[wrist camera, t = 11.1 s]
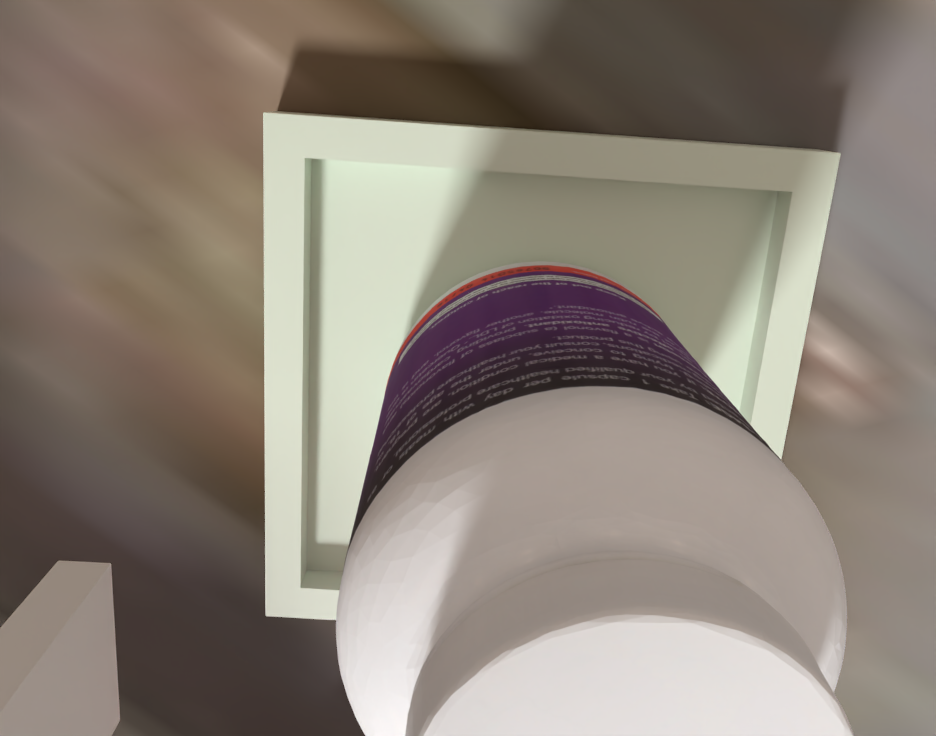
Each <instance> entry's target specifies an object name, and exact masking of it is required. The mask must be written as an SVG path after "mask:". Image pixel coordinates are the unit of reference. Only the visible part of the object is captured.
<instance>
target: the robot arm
mask: <svg viewBox="0 0 936 736" xmlns="http://www.w3.org/2000/svg"><path fill="white" fill-rule="evenodd" d="M119 721H120V708H119V690H118V673H117V656H116V638H115V621H114V604H113V587H112V569H111V563H98V562H78V561H57V563H56V564H55V565H54V566H53V567H52V568H51V570H50V571H49V572H48V573H47V574H46V575H45V577H44V578H43V579H42V580H41V581H40V582H39V584H38V585H37V586H36V587H35V588H34V589H33V590H32V592H31V593H30V594H29V595H28V596H27V597H26V599H25V600H24V601H23V602H22V603H21V604H20V606H19V607H18V608H17V609H16V610H15V611H14V612H13V614H12V615H11V616H10V617H9V618H8V619H7V621H6V622H5V623H4V624H3V625H2V626H1V628H0V736H112V734H113V733H114V731H115V729H116V727H117V725H118V723H119Z"/></svg>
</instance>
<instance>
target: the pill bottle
mask: <svg viewBox="0 0 936 736" xmlns="http://www.w3.org/2000/svg"><path fill="white" fill-rule="evenodd" d="M846 632H847V601H846V592H845V585H844V577H843V573H842V569H841V565H840V561H839V557H838V553H837V550H836V548H835V545H834V542H833V539H832V537H831V535H830V532H829V530H828V528H827V526H826V524H825V522H824V520H823V518H822V516H821V514H820V513H819V511H818V509H817V507H816V505H815V504H814V502H813V501H812V499H811V498H810V496H809V495H808V494H807V492H806V491H805V489H804V488H803V486H802V485H801V483H800V482H799V481H798V480H797V479H796V478H795V476H794V475H793V474H792V473H791V472H790V471H789V470H788V469H787V467H786V466H785V465H784V463H783V462H782V461H781V459H780V458H779V457H778V456H777V455H776V454H775V453H774V451H773V450H772V449H771V448H770V447H769V445H768V444H767V443H766V442H765V441H764V440H763V439H762V438H761V437H760V436H759V434H758V433H757V432H756V431H755V430H754V429H753V427H752V426H751V425H750V424H749V423H748V422H747V420H746V419H745V418H744V417H743V416H742V415H741V414H740V412H739V411H738V410H737V408H736V407H735V406H734V405H733V404H732V403H731V402H730V400H729V399H728V398H727V397H726V396H725V395H724V394H723V393H722V391H721V390H720V389H719V387H718V386H717V385H716V384H715V383H714V382H713V381H712V379H711V378H710V377H709V376H708V375H707V374H706V373H705V372H704V370H703V369H702V368H701V366H700V365H699V364H698V363H697V361H696V360H695V359H694V358H693V357H692V356H691V354H690V353H689V352H688V351H687V350H686V349H685V347H684V346H683V345H682V344H681V343H680V341H679V340H678V339H677V338H676V336H675V335H674V334H673V332H672V331H671V330H670V329H669V327H668V326H667V325H666V324H665V322H664V321H663V320H662V319H661V318H660V316H659V315H658V314H657V313H656V312H655V311H654V310H653V309H652V308H651V307H650V306H649V305H648V304H647V303H646V302H645V301H644V300H643V299H641V298H640V297H639V296H638V295H637V294H636V293H634V292H633V291H631V290H630V289H628V288H627V287H626V286H624V285H623V284H621V283H619V282H617V281H616V280H614V279H612V278H610V277H608V276H606V275H603V274H601V273H599V272H596V271H593V270H591V269H588V268H585V267H581V266H576V265H572V264H566V263H560V262H545V261H535V262H521V263H514V264H509V265H505V266H500V267H496V268H493V269H490V270H487V271H485V272H482V273H479V274H477V275H475V276H473V277H470V278H468V279H466V280H465V281H463V282H461V283H459V284H458V285H456V286H454V287H453V288H451V289H450V290H448V291H447V292H446V293H445V294H443V295H442V296H441V297H440V298H438V299H437V300H436V301H435V302H434V303H433V304H432V305H431V306H430V307H429V308H428V309H427V310H426V311H425V312H424V313H423V314H422V315H421V317H420V318H419V319H418V320H417V321H416V323H415V324H414V325H413V327H412V328H411V329H410V331H409V332H408V334H407V335H406V337H405V339H404V341H403V342H402V344H401V346H400V348H399V350H398V352H397V355H396V357H395V360H394V362H393V365H392V368H391V372H390V375H389V378H388V381H387V386H386V390H385V395H384V400H383V404H382V408H381V413H380V417H379V421H378V426H377V430H376V434H375V439H374V443H373V447H372V451H371V454H370V458H369V463H368V467H367V471H366V476H365V480H364V484H363V488H362V493H361V497H360V501H359V505H358V509H357V513H356V518H355V522H354V526H353V530H352V534H351V538H350V542H349V546H348V550H347V554H346V558H345V563H344V569H343V574H342V579H341V584H340V590H339V597H338V604H337V614H336V642H337V653H338V662H339V667H340V673H341V677H342V680H343V683H344V687H345V690H346V693H347V697H348V700H349V702H350V704H351V707H352V709H353V712H354V715H355V717H356V719H357V721H358V723H359V725H360V727H361V729H362V731H363V733H364V734H365V736H854V734H853V730H852V728H851V726H850V723H849V721H848V718H847V716H846V714H845V712H844V710H843V708H842V706H841V704H840V703H839V701H838V699H837V697H836V695H835V694H834V690H835V687H836V685H837V681H838V678H839V674H840V671H841V667H842V663H843V657H844V651H845V645H846Z"/></svg>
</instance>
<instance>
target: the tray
mask: <svg viewBox="0 0 936 736" xmlns="http://www.w3.org/2000/svg"><path fill="white" fill-rule="evenodd" d="M840 155H841V153H837V152H831V151H825V150H819V149H807V148H793V147H778V146H764V145H750V144H736V143H722V142H708V141H693V140H679V139H665V138H651V137H637V136H623V135H608V134H594V133H580V132H566V131H552V130H538V129H523V128H509V127H495V126H481V125H467V124H453V123H438V122H424V121H410V120H396V119H382V118H368V117H353V116H339V115H325V114H311V113H297V112H283V111H272V112H263V156H264V391H265V616H273V617H290V618H307V619H324V620H336V614H337V604H338V597H339V590H340V584H341V579H342V574H343V569H344V563H345V558H346V554H347V550H348V546H349V542H350V538H351V534H352V530H353V526H354V522H355V518H356V513H357V509H358V505H359V501H360V497H361V493H362V488H363V484H364V480H365V476H366V471H367V467H368V463H369V458H370V454H371V451H372V447H373V443H374V439H375V434H376V430H377V426H378V421H379V417H380V413H381V408H382V404H383V400H384V395H385V390H386V386H387V381H388V378H389V375H390V372H391V368H392V365H393V362H394V360H395V357H396V355H397V352H398V350H399V348H400V346H401V344H402V342H403V341H404V339H405V337H406V335H407V334H408V332H409V331H410V329H411V328H412V327H413V325H414V324H415V323H416V321H417V320H418V319H419V318H420V317H421V315H422V314H423V313H424V312H425V311H426V310H427V309H428V308H429V307H430V306H431V305H432V304H433V303H434V302H435V301H436V300H437V299H438V298H440V297H441V296H442V295H443V294H445V293H446V292H447V291H448V290H450V289H451V288H453V287H454V286H456V285H458V284H459V283H461V282H463V281H465V280H466V279H468V278H470V277H473V276H475V275H477V274H479V273H482V272H485V271H487V270H490V269H493V268H496V267H500V266H505V265H509V264H514V263H521V262H535V261H545V262H560V263H566V264H572V265H576V266H581V267H585V268H588V269H591V270H593V271H596V272H599V273H601V274H603V275H606V276H608V277H610V278H612V279H614V280H616V281H617V282H619V283H621V284H623V285H624V286H626V287H627V288H628V289H630V290H631V291H633V292H634V293H636V294H637V295H638V296H639V297H640V298H641V299H643V300H644V301H645V302H646V303H647V304H648V305H649V306H650V307H651V308H652V309H653V310H654V311H655V312H656V313H657V314H658V315H659V316H660V318H661V319H662V320H663V321H664V322H665V324H666V325H667V326H668V327H669V329H670V330H671V331H672V332H673V334H674V335H675V336H676V338H677V339H678V340H679V341H680V343H681V344H682V345H683V346H684V347H685V349H686V350H687V351H688V352H689V353H690V354H691V356H692V357H693V358H694V359H695V360H696V361H697V363H698V364H699V365H700V366H701V368H702V369H703V370H704V372H705V373H706V374H707V375H708V376H709V377H710V378H711V379H712V381H713V382H714V383H715V384H716V385H717V386H718V387H719V389H720V390H721V391H722V393H723V394H724V395H725V396H726V397H727V398H728V399H729V400H730V402H731V403H732V404H733V405H734V406H735V407H736V408H737V410H738V411H739V412H740V414H741V415H742V416H743V417H744V418H745V419H746V420H747V422H748V423H749V424H750V425H751V426H752V427H753V429H754V430H755V431H756V432H757V433H758V434H759V436H760V437H761V438H762V439H763V440H764V441H765V442H766V443H767V444H768V445H769V447H770V448H771V449H772V450H773V451H774V453H775V454H776V455H777V456H778V457H779V458H780V459H782V453H783V448H784V443H785V438H786V433H787V428H788V422H789V417H790V412H791V407H792V402H793V397H794V392H795V386H796V381H797V376H798V371H799V366H800V361H801V356H802V350H803V345H804V340H805V335H806V330H807V325H808V320H809V314H810V309H811V304H812V299H813V294H814V289H815V284H816V278H817V273H818V268H819V263H820V258H821V253H822V248H823V242H824V237H825V232H826V227H827V222H828V217H829V212H830V206H831V201H832V196H833V191H834V186H835V181H836V175H837V170H838V165H839V160H840Z"/></svg>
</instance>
